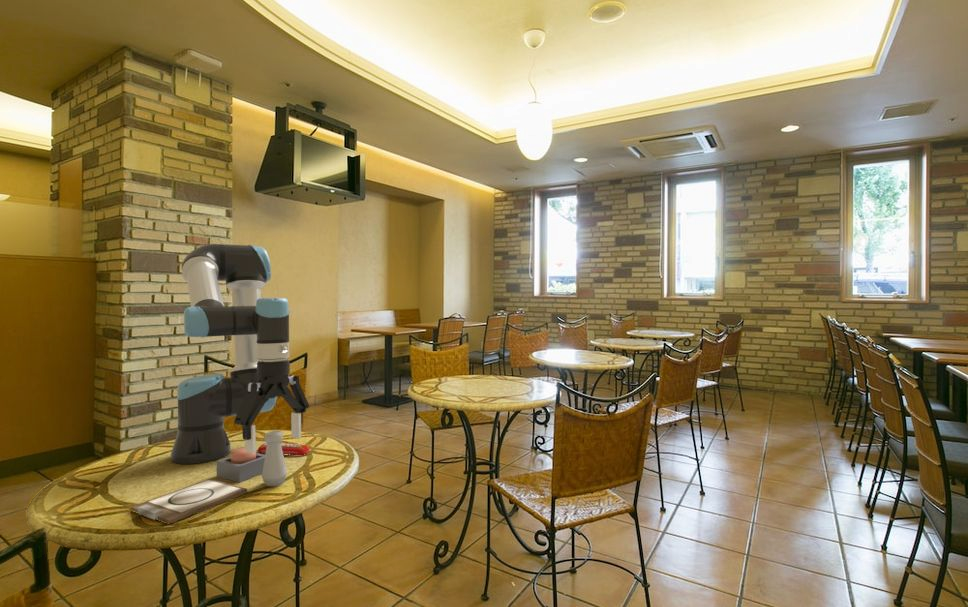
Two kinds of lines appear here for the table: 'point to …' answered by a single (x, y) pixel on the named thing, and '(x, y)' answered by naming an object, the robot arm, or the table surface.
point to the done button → (241, 456)
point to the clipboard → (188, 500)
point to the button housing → (240, 468)
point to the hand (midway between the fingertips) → (274, 444)
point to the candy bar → (288, 449)
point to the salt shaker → (274, 460)
